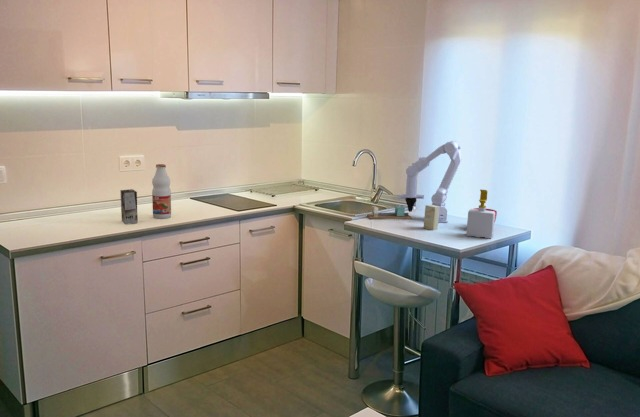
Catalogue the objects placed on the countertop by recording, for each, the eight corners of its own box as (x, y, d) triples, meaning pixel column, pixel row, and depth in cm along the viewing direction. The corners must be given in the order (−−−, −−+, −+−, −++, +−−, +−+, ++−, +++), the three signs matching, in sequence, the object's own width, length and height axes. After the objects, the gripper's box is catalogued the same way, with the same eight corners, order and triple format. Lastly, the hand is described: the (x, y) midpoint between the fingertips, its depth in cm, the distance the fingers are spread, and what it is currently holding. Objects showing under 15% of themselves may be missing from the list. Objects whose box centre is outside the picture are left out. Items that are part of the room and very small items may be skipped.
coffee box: (138, 223, 295) (137, 191, 291) (125, 224, 291) (123, 192, 288) (134, 219, 302) (133, 188, 299) (121, 220, 299) (120, 189, 296)
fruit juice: (174, 216, 312) (173, 164, 307) (163, 219, 304) (162, 166, 299) (160, 214, 316) (159, 163, 311) (149, 217, 308) (147, 164, 302)
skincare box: (423, 228, 302) (424, 205, 300) (428, 227, 305) (429, 204, 303) (433, 230, 298) (435, 207, 295) (438, 229, 301) (440, 206, 298)
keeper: (404, 216, 325) (404, 207, 324) (397, 216, 324) (397, 207, 323) (401, 214, 330) (401, 205, 329) (394, 214, 329) (395, 206, 328)
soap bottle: (466, 236, 288) (469, 189, 283) (468, 233, 294) (472, 187, 289) (491, 239, 283) (495, 191, 278) (493, 236, 289) (497, 189, 284)
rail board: (412, 219, 324) (412, 208, 323) (370, 219, 320) (370, 208, 318) (407, 215, 332) (407, 205, 331) (366, 216, 328) (366, 205, 327)
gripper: (421, 186, 330) (419, 209, 333) (396, 186, 327) (395, 209, 330) (425, 188, 323) (424, 212, 326) (400, 188, 321) (399, 212, 323)
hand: (410, 211), depth 327 cm, fingers closed
